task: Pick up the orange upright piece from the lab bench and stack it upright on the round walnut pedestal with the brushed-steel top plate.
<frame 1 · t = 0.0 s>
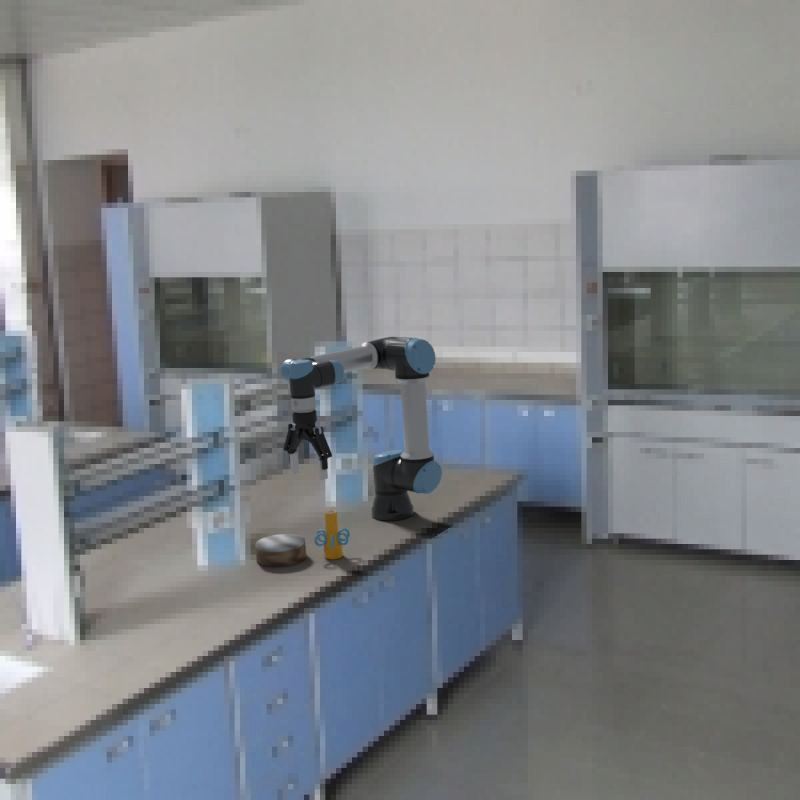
hand: (309, 476, 339), 28 cm above the worktop, tool pointing down, fingers open, 13 cm apart
orange upright piece: (333, 557, 348), on the worktop
pedestal: (281, 558, 349), on the worktop
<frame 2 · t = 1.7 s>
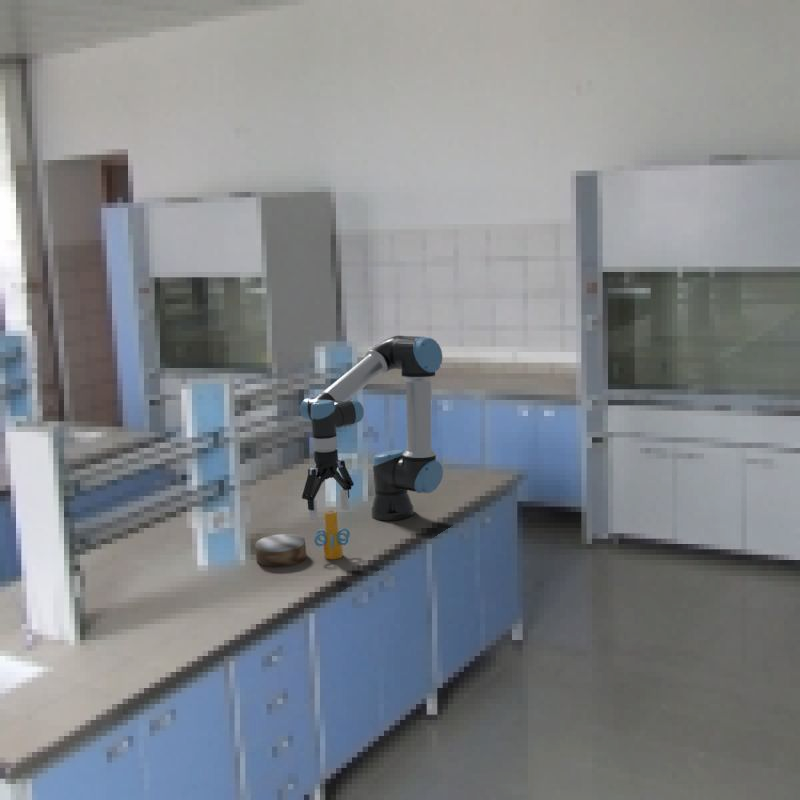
hand: (329, 514, 345), 14 cm above the worktop, tool pointing down, fingers open, 13 cm apart
nothing on the worktop moved.
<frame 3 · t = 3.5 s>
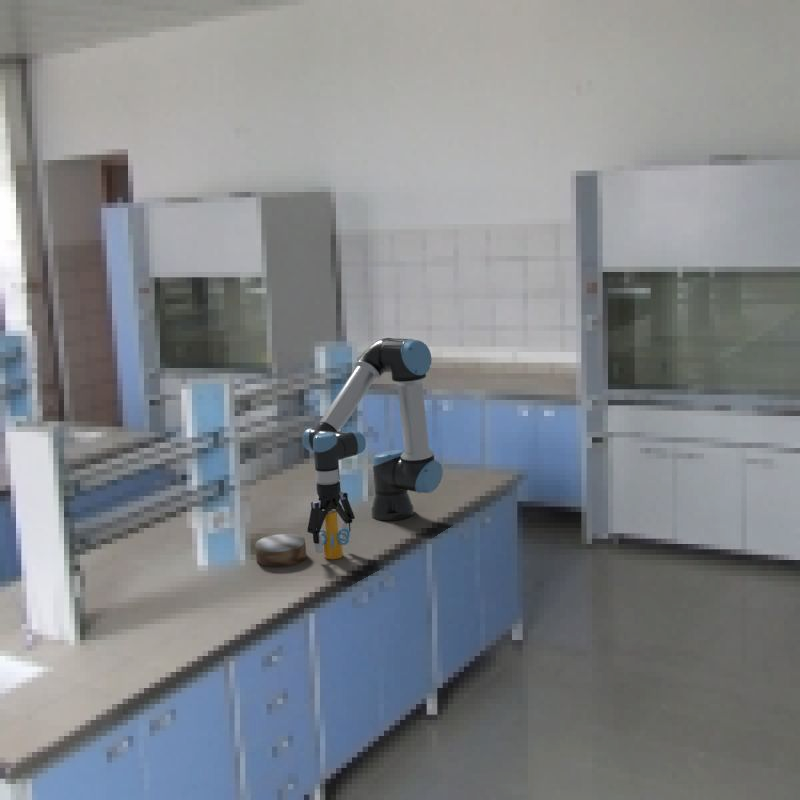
hand: (333, 547, 347), 3 cm above the worktop, tool pointing down, fingers closed on orange upright piece, 11 cm apart
orange upright piece: (333, 557, 348), on the worktop, touching gripper
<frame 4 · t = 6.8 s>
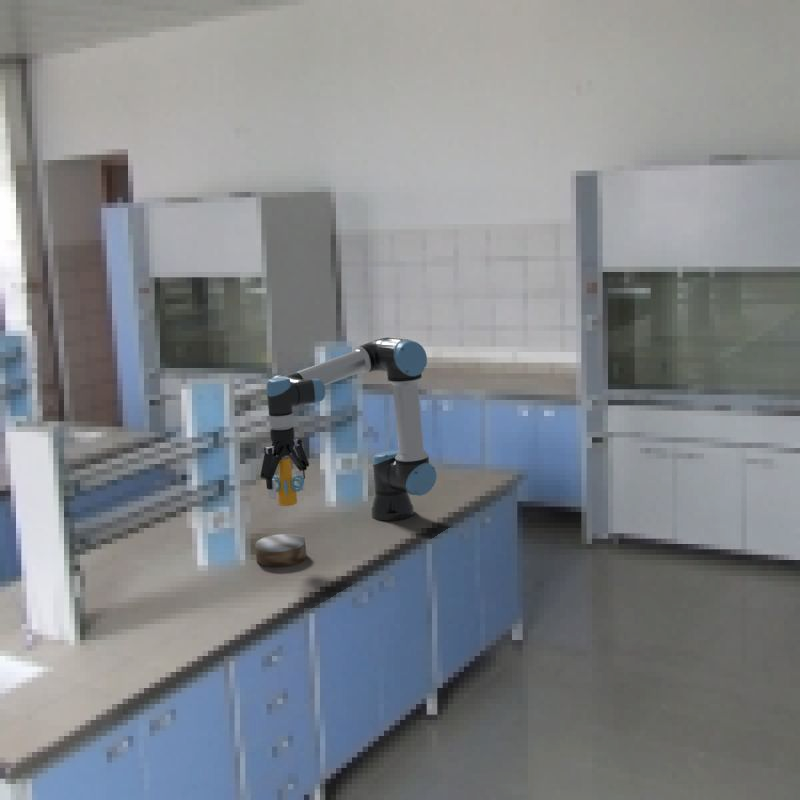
hand: (287, 494, 344), 22 cm above the worktop, tool pointing down, fingers closed on orange upright piece, 11 cm apart
orange upright piece: (287, 504, 345), point 18 cm above the worktop, touching gripper
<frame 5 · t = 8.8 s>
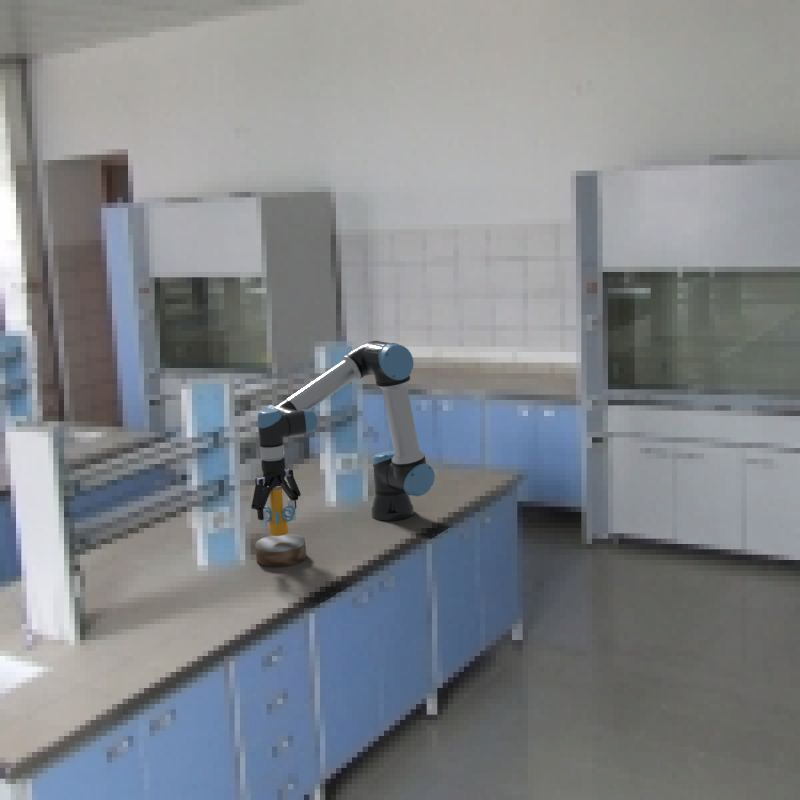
hand: (278, 524, 346), 12 cm above the worktop, tool pointing down, fingers closed on orange upright piece, 11 cm apart
orange upright piece: (279, 534, 347), point 8 cm above the worktop, touching gripper
when the fingers open (10 cm above the worktop, at t = 10.2 s): orange upright piece drops 1 cm, resting on pedestal.
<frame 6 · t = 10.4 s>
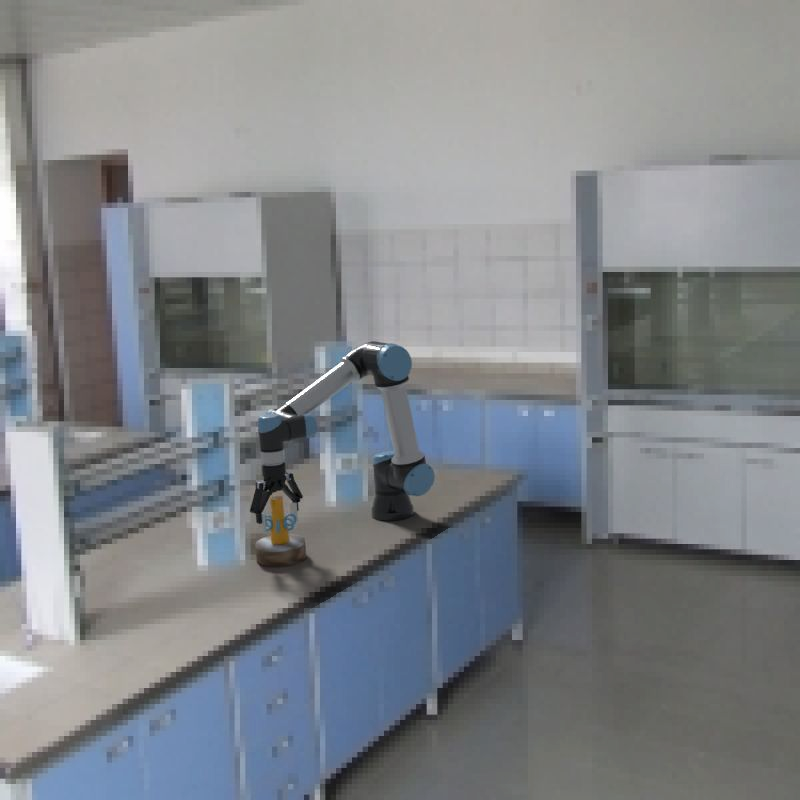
hand: (278, 527, 347), 11 cm above the worktop, tool pointing down, fingers open, 13 cm apart
orange upright piece: (280, 542, 348), point 5 cm above the worktop, touching pedestal
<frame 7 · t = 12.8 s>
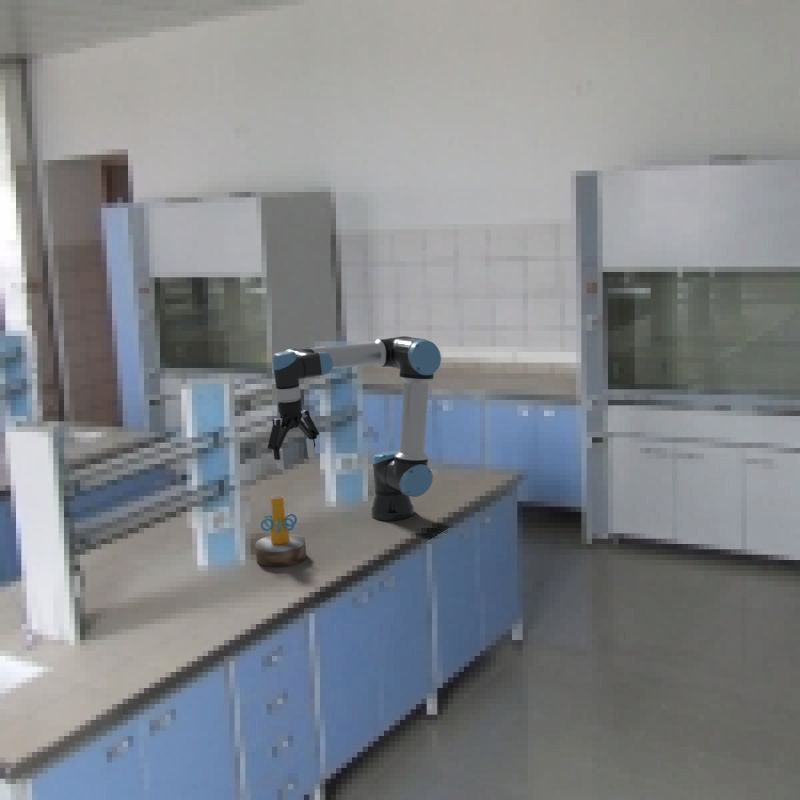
hand: (296, 463, 350), 29 cm above the worktop, tool pointing down, fingers open, 13 cm apart
nothing on the worktop moved.
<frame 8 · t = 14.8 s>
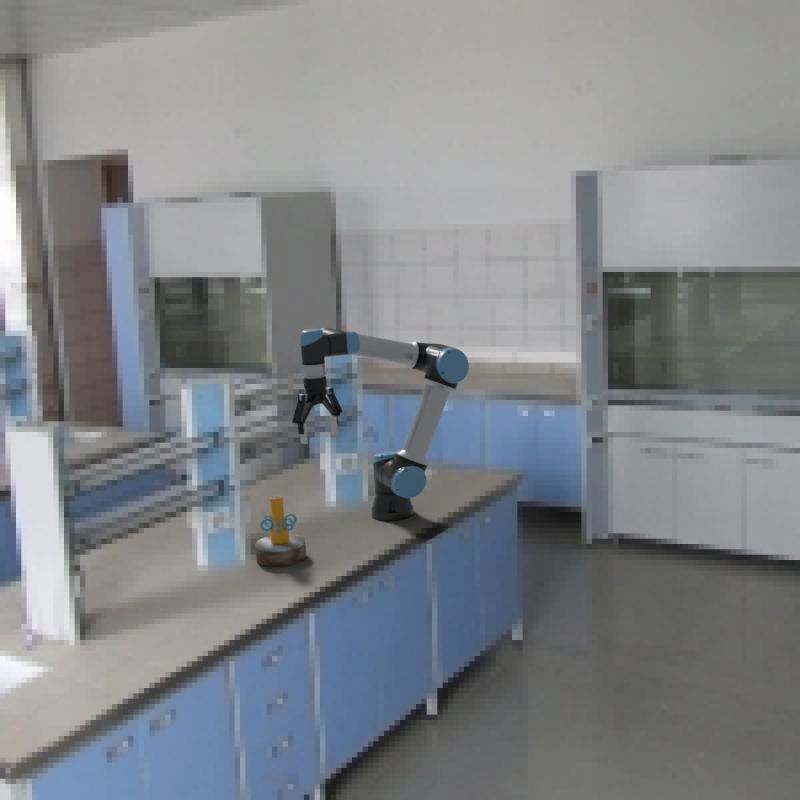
hand: (319, 439, 359), 35 cm above the worktop, tool pointing down, fingers open, 13 cm apart
nothing on the worktop moved.
at the end: orange upright piece inside the target area on the pedestal (0.2 cm from its centre), point 5.4 cm above the pedestal's base; orange upright piece tilted 1°; the gripper is holding nothing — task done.
